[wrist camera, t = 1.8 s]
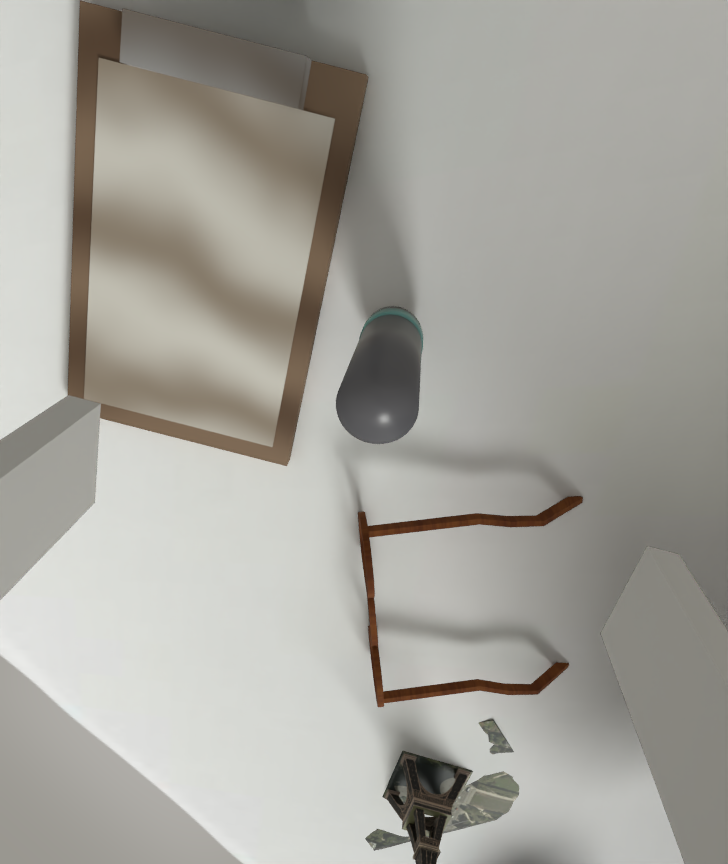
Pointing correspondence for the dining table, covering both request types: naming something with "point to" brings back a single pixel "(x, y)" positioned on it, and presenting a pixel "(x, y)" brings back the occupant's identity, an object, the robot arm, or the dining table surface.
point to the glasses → (443, 523)
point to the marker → (383, 378)
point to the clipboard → (202, 227)
